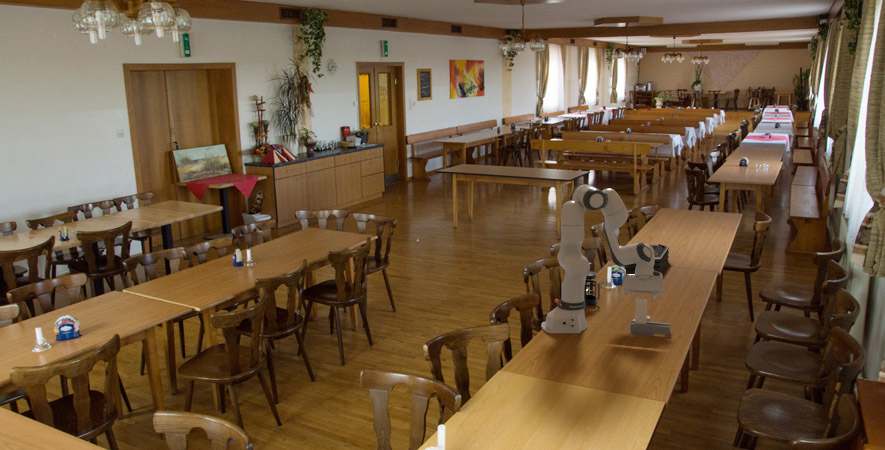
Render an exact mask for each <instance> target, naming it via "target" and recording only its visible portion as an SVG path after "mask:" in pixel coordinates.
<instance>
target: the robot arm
mask: <svg viewBox="0 0 885 450" xmlns="http://www.w3.org/2000/svg"><path fill="white" fill-rule="evenodd" d="M587 210H589V211H598V210H600V212H602V214H603V217H604V222H603V223H602V228H603V232H604V237H605V239H606V242H607V245H608V248H609V253H610V257H611V261H612V263H613V264H614V265H616V267H617V266H618V267H620V268H622V267H624V266H626V265H629V264H634V263H636V264H637V266H636V269H635V273H633V274H631V273H630V274H629V273H626V274H624V275H623V276H622V277H621V281H622V284H621V290H622V292H624V293H628V295H629V296H630V300H631V301H634V300H635V295H633V294H632V293H635V294H648V295H649V294H650V295H653V296H651V297H650V302H653V303H654V301H655V299H656V298H657V296H658V295H664V294H665V281H664V279H663V272H662V273H660V272H657V271H654V269H653V266H654V260H655V256H654V249H653V247H652V246H650V245H651V244H647V243H644V242H636V243H631V244H626V245H620V244H619V241H618V238H617V235H616V231H617V230H619V228H621V227H622V226H624V225H625V223H626V222H627V220H628V217H629V212H628V209H627V207H626V205H625V203H624V201H623V200H622V198H621V196H620V195H619V194H618V192H617V191H616V190H615V189H613V188H604V189H603V190H601V189H599V188H597V187H595V186H593V185H591V184H586V183H580V184H577V185H576V186H574V188H573V190H572V192H571V195H570V197H569V200H568V201H566V202H564V203H563V205H562V206H561V214H560V245H559V251H558V253H557V255H556V258H557V261H558V264H559V265H560V267H561V268H562V269H564V278H563V281H562V283H561V298H560V300H559V299H558V298H555V299H554V302H555V303H556V304H557V306H556V307H555V308H553V310H551V311H549V312H548V313H547V315H546V318H545V321H543V322H541V325H540V327H541V329H542V330H543V331H544V332H545V333H548V334H581V333H582V332H583V331H585V330H586V329H587V328H588V325H587V320H586V316H585V311H586V305H585V300H584V286H585V284H586V282H585V280H587V279H586V276H587V274H588V273H589V271H591V265H590V264H589V262H590V261H589V260H588V258H587V257H586V256H584V255H583V254H582V246H583V242H584V240H585V214H586V211H587Z"/></svg>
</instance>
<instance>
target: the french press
mask: <svg viewBox="0 0 885 450" xmlns="http://www.w3.org/2000/svg"><path fill="white" fill-rule="evenodd" d="M588 262H589V264H590V266H592V265H593V262H590V261H588ZM597 275H598V273H597V272H595V271H591V270H589V273H588V274H587V276H586V280H585V286H584V300H585V307H586V306H587V307H588V306H589V307H592V306H596V305H597V304H598V303H597V301H599V300H600V298H601V293H600V292H601V284H600V283H598V281H596V280H594V279H597ZM593 288H594V289H593Z"/></svg>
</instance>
